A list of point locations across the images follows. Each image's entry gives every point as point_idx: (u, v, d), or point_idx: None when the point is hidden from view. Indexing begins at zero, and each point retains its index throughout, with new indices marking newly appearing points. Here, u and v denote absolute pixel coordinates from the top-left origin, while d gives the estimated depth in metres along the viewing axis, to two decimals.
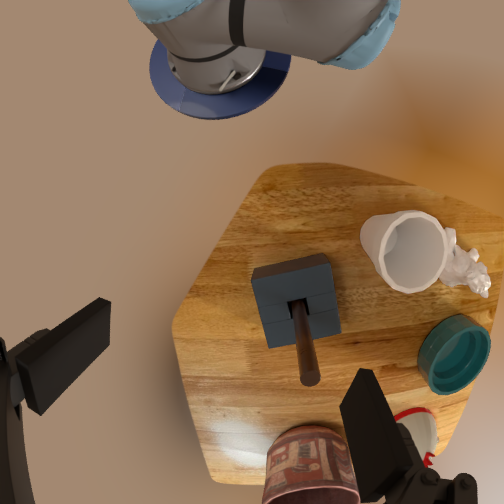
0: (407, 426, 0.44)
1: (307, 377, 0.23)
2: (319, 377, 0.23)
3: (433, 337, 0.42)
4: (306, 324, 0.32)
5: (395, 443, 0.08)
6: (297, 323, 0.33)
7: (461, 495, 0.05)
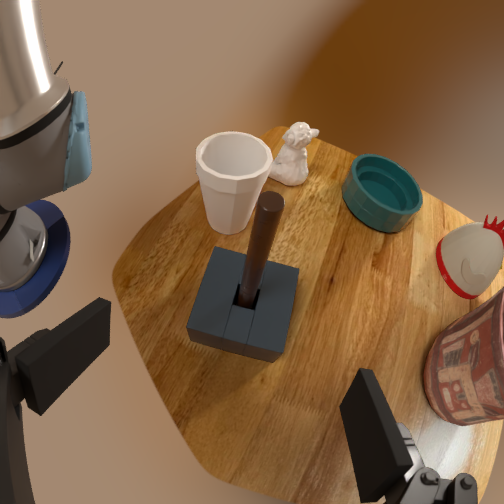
0: (452, 253, 0.42)
1: (267, 202, 0.19)
2: (274, 192, 0.19)
3: (354, 204, 0.47)
4: None
5: (395, 443, 0.08)
6: (243, 273, 0.27)
7: (461, 495, 0.05)
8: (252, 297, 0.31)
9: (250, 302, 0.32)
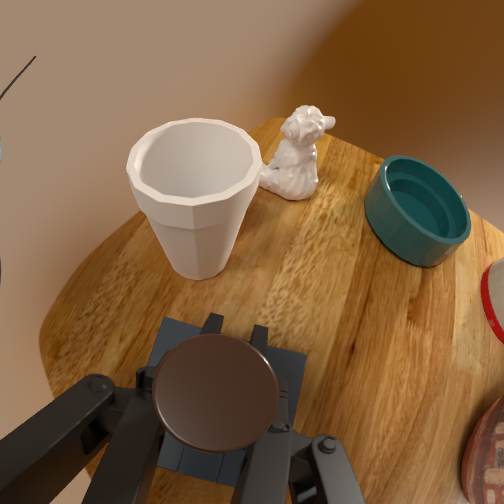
0: None
1: (193, 404, 0.04)
2: (231, 343, 0.04)
3: (384, 229, 0.32)
4: None
5: None
6: None
7: (325, 462, 0.07)
8: None
9: None
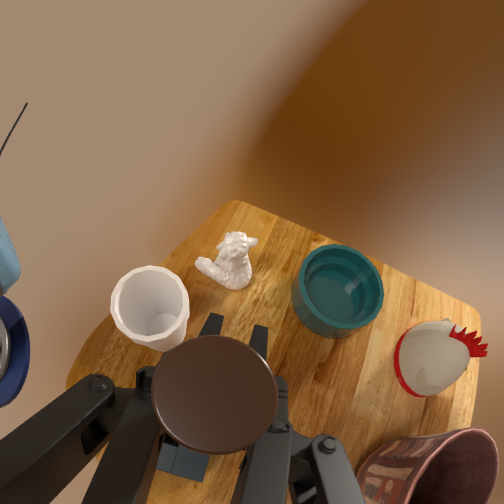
0: (410, 360, 0.40)
1: (192, 405, 0.04)
2: (230, 344, 0.04)
3: (300, 313, 0.45)
4: None
5: None
6: None
7: (325, 462, 0.07)
8: None
9: None
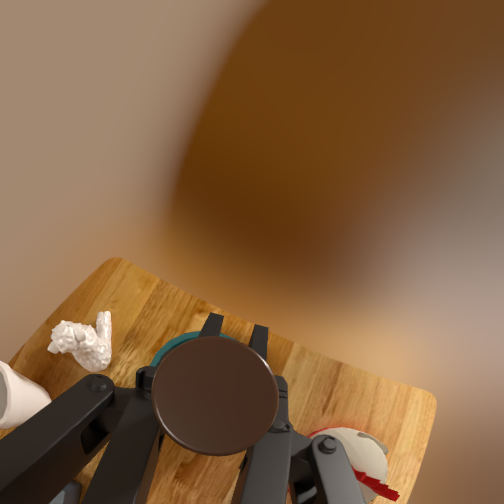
0: None
1: (192, 406, 0.04)
2: (230, 345, 0.04)
3: None
4: None
5: None
6: None
7: (326, 462, 0.07)
8: None
9: None
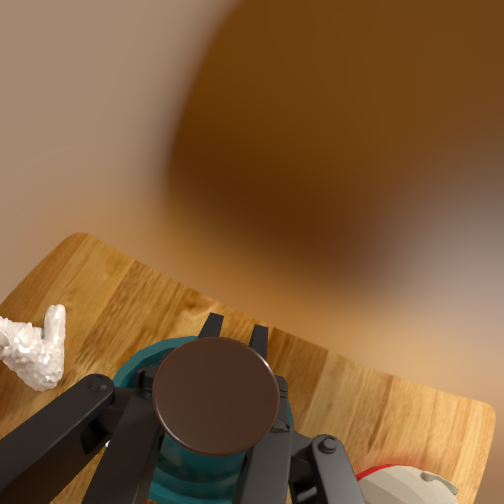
0: None
1: (193, 406, 0.04)
2: (231, 345, 0.04)
3: None
4: None
5: None
6: None
7: (326, 462, 0.07)
8: None
9: None
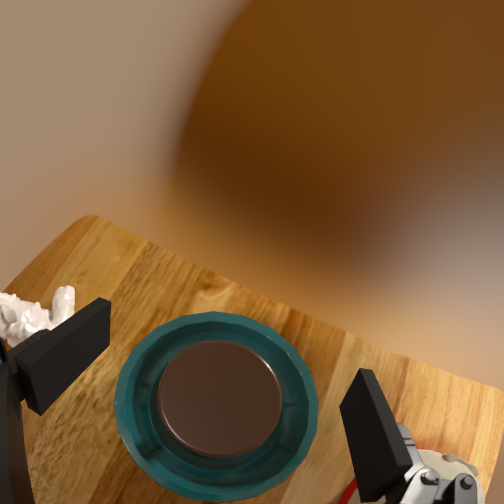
0: None
1: (198, 409, 0.04)
2: (235, 349, 0.04)
3: None
4: None
5: (395, 443, 0.08)
6: None
7: (461, 495, 0.05)
8: None
9: None
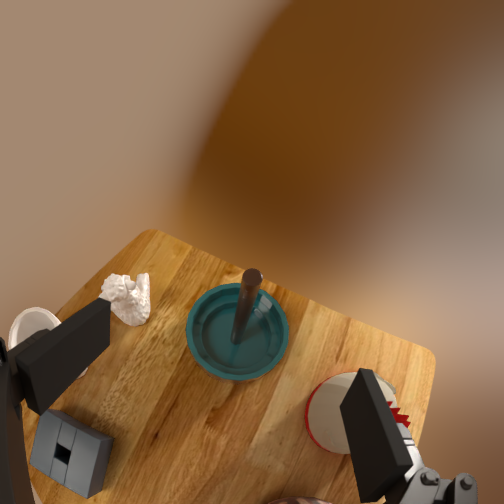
0: (316, 417, 0.36)
1: (249, 278, 0.26)
2: (255, 269, 0.27)
3: (192, 355, 0.41)
4: None
5: (395, 443, 0.08)
6: (235, 315, 0.35)
7: (461, 495, 0.05)
8: (243, 330, 0.38)
9: (242, 333, 0.39)
